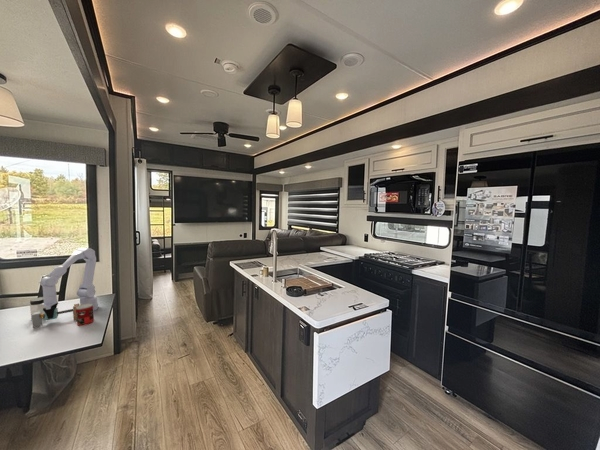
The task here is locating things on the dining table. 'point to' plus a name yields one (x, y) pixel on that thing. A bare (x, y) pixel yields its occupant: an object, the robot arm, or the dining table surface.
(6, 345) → the dining table surface
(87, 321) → the canned food
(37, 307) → the jar
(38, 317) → the rod peg assembly
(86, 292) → the robot arm
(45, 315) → the sleeve
